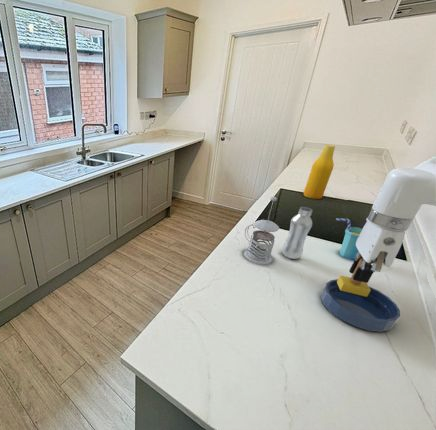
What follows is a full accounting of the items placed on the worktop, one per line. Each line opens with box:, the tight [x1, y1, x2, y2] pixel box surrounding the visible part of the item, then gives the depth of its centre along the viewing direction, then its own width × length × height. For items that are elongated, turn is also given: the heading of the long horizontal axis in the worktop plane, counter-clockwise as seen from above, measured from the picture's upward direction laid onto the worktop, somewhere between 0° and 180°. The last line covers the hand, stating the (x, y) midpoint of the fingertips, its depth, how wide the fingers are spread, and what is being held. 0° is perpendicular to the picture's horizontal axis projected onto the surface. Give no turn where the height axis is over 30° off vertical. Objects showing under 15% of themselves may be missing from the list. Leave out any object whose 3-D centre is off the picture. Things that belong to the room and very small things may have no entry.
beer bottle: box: [303, 144, 336, 200], centre depth 145 cm, size 9×9×29 cm
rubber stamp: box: [337, 258, 373, 297], centre depth 72 cm, size 6×4×10 cm, turn 65°
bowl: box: [320, 278, 401, 333], centre depth 76 cm, size 16×16×4 cm
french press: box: [243, 196, 280, 265], centre depth 96 cm, size 10×12×25 cm
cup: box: [335, 217, 363, 261], centre depth 97 cm, size 14×8×15 cm, turn 63°
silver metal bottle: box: [281, 206, 313, 260], centre depth 96 cm, size 6×7×20 cm
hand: (358, 276), depth 73 cm, fingers closed on rubber stamp, 2 cm apart
